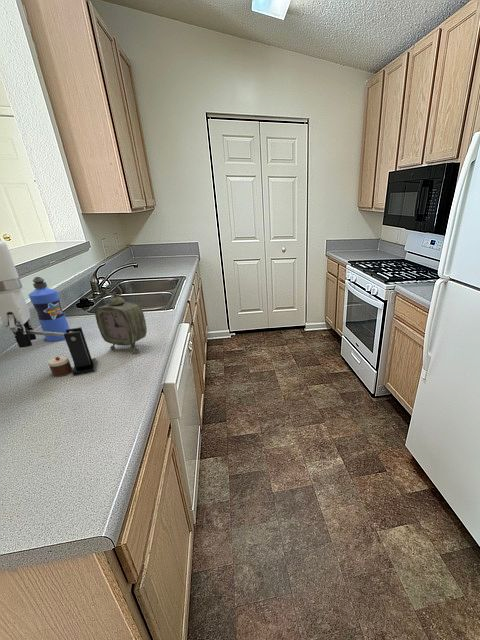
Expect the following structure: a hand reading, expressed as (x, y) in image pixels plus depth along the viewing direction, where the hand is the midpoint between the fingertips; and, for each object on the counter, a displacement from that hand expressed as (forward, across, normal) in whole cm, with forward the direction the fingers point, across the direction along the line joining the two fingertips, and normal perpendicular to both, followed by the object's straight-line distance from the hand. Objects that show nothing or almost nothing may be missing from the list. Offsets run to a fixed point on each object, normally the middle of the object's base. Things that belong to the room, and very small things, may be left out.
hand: (28, 342), depth 104 cm
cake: (+12, 0, +6) cm, 13 cm away
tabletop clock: (+12, -11, +27) cm, 31 cm away
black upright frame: (+12, 0, +13) cm, 17 cm away
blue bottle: (+12, -38, 0) cm, 40 cm away
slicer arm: (-1, 0, +6) cm, 6 cm away
